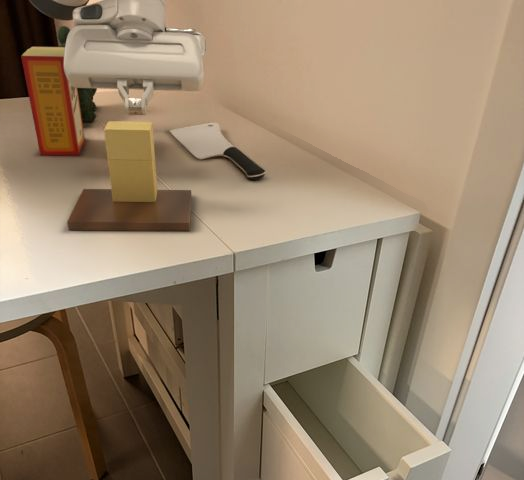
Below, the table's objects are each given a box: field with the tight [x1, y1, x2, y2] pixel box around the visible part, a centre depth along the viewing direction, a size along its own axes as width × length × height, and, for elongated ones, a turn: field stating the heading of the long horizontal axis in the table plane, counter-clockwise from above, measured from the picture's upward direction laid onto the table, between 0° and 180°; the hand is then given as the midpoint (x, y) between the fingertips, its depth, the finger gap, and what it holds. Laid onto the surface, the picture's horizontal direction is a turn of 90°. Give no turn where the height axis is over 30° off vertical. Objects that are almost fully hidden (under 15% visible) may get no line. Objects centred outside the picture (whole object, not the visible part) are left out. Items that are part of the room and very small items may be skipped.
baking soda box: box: [20, 46, 86, 156], centre depth 97 cm, size 10×6×16 cm
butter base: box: [107, 151, 158, 202], centre depth 79 cm, size 6×4×6 cm, turn 94°
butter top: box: [103, 120, 155, 160], centre depth 76 cm, size 6×4×4 cm, turn 95°
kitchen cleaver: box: [169, 122, 266, 181], centre depth 102 cm, size 31×2×10 cm
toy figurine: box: [57, 25, 98, 123], centre depth 114 cm, size 9×19×25 cm
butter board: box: [66, 188, 192, 232], centre depth 79 cm, size 16×12×1 cm
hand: (135, 112), depth 81 cm, fingers closed
